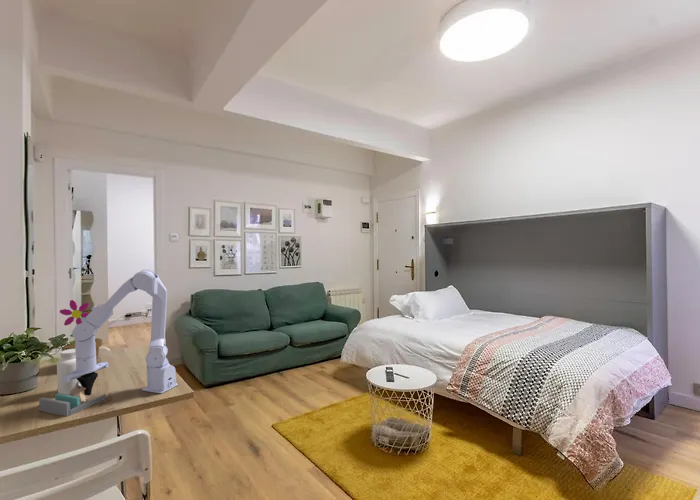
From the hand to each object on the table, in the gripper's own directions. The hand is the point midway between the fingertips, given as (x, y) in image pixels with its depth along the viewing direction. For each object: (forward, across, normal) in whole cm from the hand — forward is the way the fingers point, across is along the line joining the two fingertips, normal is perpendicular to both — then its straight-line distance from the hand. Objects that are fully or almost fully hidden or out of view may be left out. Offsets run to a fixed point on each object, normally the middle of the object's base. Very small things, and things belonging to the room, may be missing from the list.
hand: (87, 394), depth 125 cm
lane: (+1, +4, 0) cm, 4 cm away
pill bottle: (+2, -3, -12) cm, 12 cm away
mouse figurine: (+2, +4, -2) cm, 4 cm away
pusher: (+1, +7, 0) cm, 7 cm away
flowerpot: (+2, -23, -34) cm, 41 cm away
